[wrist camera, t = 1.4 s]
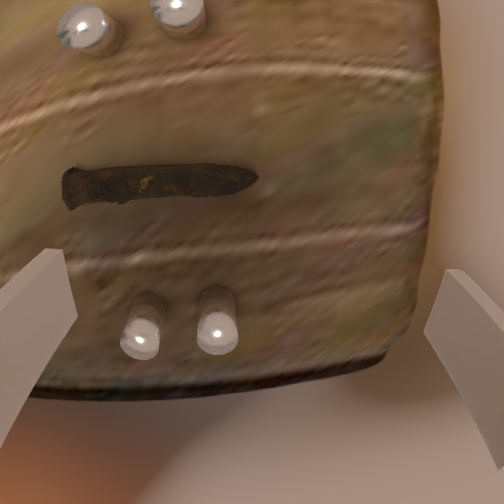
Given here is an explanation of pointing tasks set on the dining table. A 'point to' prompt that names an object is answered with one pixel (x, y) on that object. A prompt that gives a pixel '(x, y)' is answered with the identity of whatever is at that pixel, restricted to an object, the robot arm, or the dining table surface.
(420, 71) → the dining table surface
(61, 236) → the dining table surface
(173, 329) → the dining table surface
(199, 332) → the cylinder
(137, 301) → the spacer
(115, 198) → the hand tool
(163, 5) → the cylinder
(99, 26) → the cylinder
